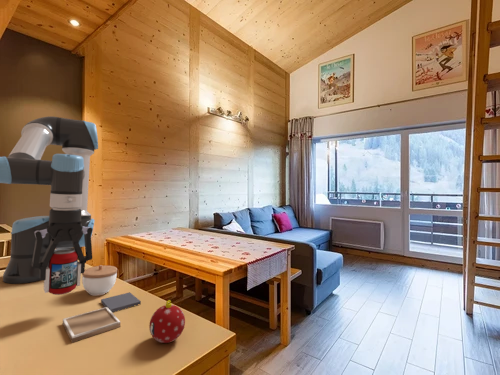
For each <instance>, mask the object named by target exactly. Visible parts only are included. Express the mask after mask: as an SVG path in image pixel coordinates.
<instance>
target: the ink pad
mask: <svg viewBox="0 0 500 375" xmlns="http://www.w3.org/2000/svg"><path fill="white" fill-rule="evenodd" d="M100 303H101V304H102V305H103V307H104V308H105V307H108V308H109V310H110V311H111V312H112V313H114V312H115V311H116V312H118V310H119V311H122V309H123V310H125V308H126V309H129V308H128V307H130V308H132V307H131V306H133V307H135V306H134V305H136V306H139V305H138V304H140V305H141V300H140V299H139V298H138V297H136V296H135V295H133V293H131V292H126V293H121V294H117V295H114V296H109V297H105V298H102V299H100Z"/></svg>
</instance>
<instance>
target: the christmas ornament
mask: <svg viewBox="0 0 500 375" xmlns="http://www.w3.org/2000/svg"><path fill="white" fill-rule="evenodd" d="M148 326H149V332H150V335H151V337H152V338H153V339H154V340H155V341H156V342H158V343H160V344H161V343H162V344H168V343H172V342H173V341H175V340H177V339H178V338H179V337H180V336H181V335H182V333H183V331H184V329H185V326H186V317H185V313H184V312H183V310H182V309H181V308H180V307H179V306H177V305H174V304H172V301H171V300H170V299H169V300H167V301H166V303H165V304H164V305H162V306H160V307H159V308H157V309H156V310H155V312H154V313H152V315H151V317H150V320H149V325H148Z"/></svg>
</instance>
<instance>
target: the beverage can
mask: <svg viewBox="0 0 500 375" xmlns="http://www.w3.org/2000/svg"><path fill="white" fill-rule="evenodd" d="M78 262H79V259H78V254H77V252H76V251H75V248H74V247H72V248H56V249H55V250H54V252H53V255H52V257H51V259H50V261H49V269H50V275H49V292H48V293H49V294H51V295H56V296H60V295H61V296H62V295H66V294H68V293H71V292H72V291H74V290H75V289H76V288H77V285H76V282H77V265H78Z"/></svg>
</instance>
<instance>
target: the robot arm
mask: <svg viewBox="0 0 500 375" xmlns="http://www.w3.org/2000/svg"><path fill="white" fill-rule="evenodd" d="M20 134H21V137H20V138H19V139H18V141H17V142H16V144H15V146H14V147H13V149H12V150H11V152H10V153H9V154H8V156H5V155H4V156H0V184H8V185H15V184H16V185H39V186H40V185H41V186H42V185H43V186H50V195H49V196H50V197H49V207H50V210H49V212H48V213H49V214H48V215H40V216H32V217H25V218H20V219H16V220H15V221H14V222H13V223H12V226H11V232H10V234H11V237H10V238H11V240H10V259H9V261H8V263H7V266H6V268H5V270H4V271H3V275H2V276H3V277H2V282H4V283H6V284H26V283H32V282H33V283H34V282H38V281H40V282H42V281H43V291H44V294H46V293H49V275H50V269H49V261H50V259H51V257H52V255H53V252H54V250H55V249H59V248H75V251H76V252H77V254H78V265H77V282H76V287H80V286H81V275H82V273H84V271H85V268H86V263H87V262H88V261H91V260H93V248H92V245H93V244H92V235H93V231H94V226H95V219H94V218H92V214H91V213H90V212H89V211H88V203H89V202H88V201H89V200H88V199H89V183H90V182H89V180H90V179H89V178H90V161H91V156H92V155H94V154H95V150H98V149H99V141H98V140H99V138H98V137H99V136H98V130H97V125H96V123H94V122H91V121H85V120H80V119H73V118H72V119H71V118H65V117H59V116H43V117H39V118H36V119H33V120H31V121H29V122H27V123H25V125H24V126H23V127H22V129H21V133H20ZM50 145H54V146H60V147H61V150H62V152H63V153H55V154H53V155H52V157H51V158H52V159H51V160H46V159H42V157H43V156H44V152H45V151H46V148H47V147H48V146H50ZM82 247H84V251H85V252H84V253H85V255H84V253H83V251H82Z"/></svg>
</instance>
